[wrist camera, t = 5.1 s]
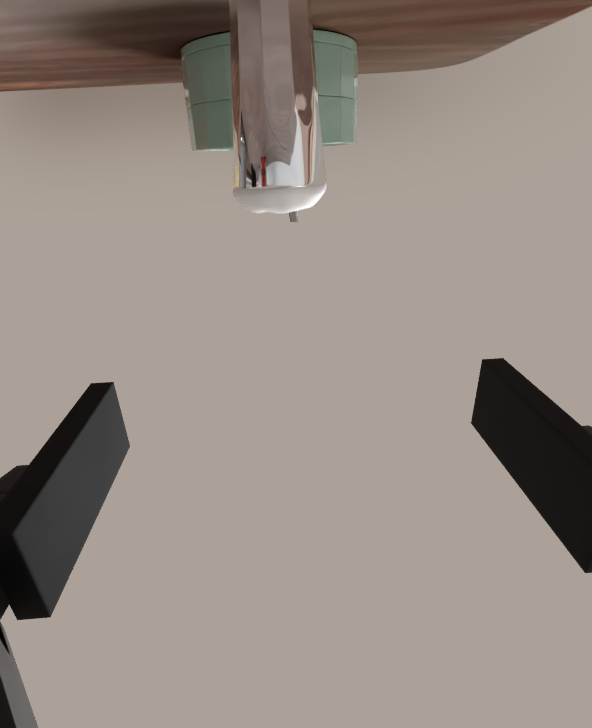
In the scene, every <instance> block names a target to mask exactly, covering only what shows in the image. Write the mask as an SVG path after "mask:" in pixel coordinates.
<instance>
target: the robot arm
mask: <svg viewBox="0 0 592 728" xmlns="http://www.w3.org/2000/svg"><path fill="white" fill-rule="evenodd" d="M471 424H472V425H473V426H474V428H475V429H476V430H477V432H478V433H479V434H480V436H481V437H482V438H483V439H484V441H485V442H486V443H487V445H488V446H489V447H490V449H491V450H492V451H493V453H494V454H495V455H496V456H497V458H498V459H499V460H500V462H501V463H502V464H503V466H504V467H505V468H506V470H507V471H508V472H509V474H510V475H511V476H512V477H513V479H514V480H515V481H516V483H517V484H518V485H519V487H520V488H521V489H522V491H523V492H524V493H525V495H526V496H527V497H528V498H529V500H530V501H531V502H532V504H533V505H534V506H535V508H536V509H537V510H538V512H539V513H540V514H541V516H542V517H543V518H544V519H545V521H546V522H547V524H548V525H549V526H550V527H551V529H552V530H553V531H554V533H555V534H556V535H557V537H558V538H559V539H560V540H561V542H562V543H563V544H564V546H565V547H566V548H567V550H568V551H569V552H570V554H571V555H572V556H573V558H574V559H575V560H576V561H577V563H578V564H579V566H580V567H581V568H582V569H583V571H584V572H585V573H591V572H592V427H591V426H581V425H580V424H579V423H577V422H576V421H575V420H574V419H573V418H572V417H571V416H569V415H568V414H567V413H566V412H565V411H563V410H562V409H561V408H560V407H559V406H558V405H556V404H555V403H554V402H553V401H552V400H551V399H550V398H549V397H547V396H546V395H545V394H544V393H543V392H542V391H540V390H539V389H538V388H537V387H536V386H535V385H533V384H532V383H531V382H530V381H529V380H528V379H526V378H525V377H524V376H523V375H522V374H521V373H520V372H518V371H517V370H516V369H515V368H514V367H513V366H511V365H510V364H509V363H508V362H507V361H506V360H504V359H503V358H500V359H483V360H482V364H481V370H480V376H479V382H478V387H477V392H476V398H475V404H474V410H473V416H472V422H471ZM129 447H130V444H129V441H128V437H127V433H126V429H125V425H124V421H123V417H122V413H121V409H120V406H119V402H118V398H117V394H116V390H115V387H114V382H109V383H108V382H107V383H91V384H90V386H89V387H88V388H87V390H86V391H85V392H84V393H83V395H82V396H81V398H80V399H79V400H78V401H77V403H76V404H75V405H74V407H73V408H72V409H71V411H70V412H69V413H68V415H67V416H66V417H65V418H64V420H63V421H62V422H61V424H60V425H59V427H58V428H57V429H56V430H55V432H54V433H53V434H52V435H51V437H50V438H49V440H48V441H47V442H46V443H45V445H44V446H43V447H42V449H41V450H40V451H39V453H38V454H37V455H36V456H35V458H34V459H33V460H32V462H31V463H30V465H21V466H16V467H15V468H13V469H12V470H11V471H9V472H8V473H7V474H5V475H4V476H3V477H1V478H0V619H1V618H2V616H3V614H4V612H5V610H6V609H7V607H8V605H10V607H11V608H12V610H13V612H14V614H15V616H16V618H17V620H23V619H35V618H47V617H51V614H52V613H53V610H54V608H55V606H56V604H57V602H58V600H59V598H60V595H61V593H62V591H63V589H64V587H65V585H66V582H67V580H68V578H69V576H70V574H71V572H72V570H73V567H74V565H75V563H76V561H77V559H78V556H79V555H80V552H81V550H82V548H83V546H84V544H85V542H86V540H87V537H88V535H89V533H90V531H91V529H92V527H93V524H94V522H95V520H96V518H97V516H98V514H99V512H100V509H101V507H102V505H103V503H104V501H105V499H106V496H107V494H108V492H109V490H110V488H111V486H112V484H113V482H114V479H115V477H116V475H117V473H118V471H119V469H120V466H121V464H122V462H123V460H124V458H125V456H126V454H127V451H128V449H129ZM0 728H38V726H37V723H36V720H35V717H34V714H33V711H32V708H31V706H30V702H29V699H28V697H27V694H26V691H25V688H24V685H23V682H22V679H21V676H20V674H19V670H18V668H17V665H16V662H15V659H14V656H13V653H12V650H11V647H10V644H9V642H8V639H7V636H6V633H5V630H4V628H3V626H2V624H1V622H0Z"/></svg>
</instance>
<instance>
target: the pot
mask: <svg viewBox="0 0 592 728" xmlns="http://www.w3.org/2000/svg"><path fill="white" fill-rule="evenodd" d="M313 37H314V51H315V64H316V78H317V91H318V104H319V116H320V126H321V135H322V145H323V146H333V145H346V144H355V143H356V138H357V137H356V136H357V133H356V132H357V85H358V55H357V43H356V42H355V40H353V39H352V38H350V37H348V36H345V35H342V34H339V33H334V32H329V31H323V30H314V29H313ZM180 55H181V70H182V78H183V85H184V93H185V100H186V107H187V114H188V122H189V130H190V138H191V145H192V150H193V151H226V150H233V110H232V80H231V47H230V32H226V33H220V34H215V35H211V36H207V37H203V38H200V39H197V40H194V41H192V42H190V43H188V44H186V45H185V46H183V47H182V49H181V51H180Z"/></svg>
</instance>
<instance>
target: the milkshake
mask: <svg viewBox="0 0 592 728" xmlns="http://www.w3.org/2000/svg"><path fill="white" fill-rule="evenodd" d="M229 13H230V47H231V80H232V110H233V174H234V175H233V185H234V188H233V194H234V197H235V198H236V199H237V201H238V202H239V203H240V204H242V205H243V206H244V207H245V208H247V209H248V210H250V211H252V212H254V213H263V212H266V211H267V212H273V213H278V214H282V213H289V217H290V221H291V222H298V216H297V210H301V209H307V208H310V207H312V206H313V205H314V204H315V203H316V202H317V201H318V200H319V199H320V198H321V196H322V195H323V194H324V192H325V190H326V175H325V165H324V155H323V145H322V135H321V126H320V116H319V104H318V91H317V78H316V64H315V51H314V37H313V24H312V11H311V0H229Z"/></svg>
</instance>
